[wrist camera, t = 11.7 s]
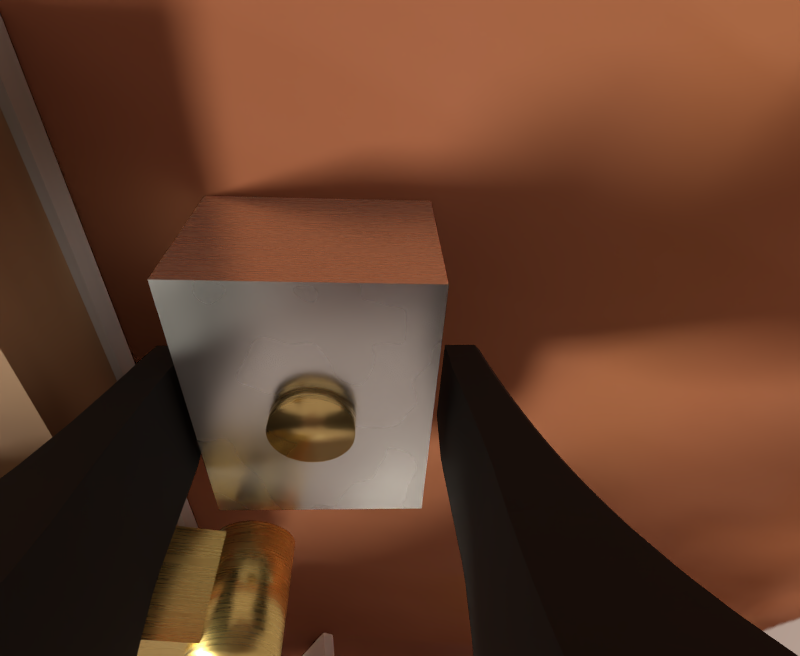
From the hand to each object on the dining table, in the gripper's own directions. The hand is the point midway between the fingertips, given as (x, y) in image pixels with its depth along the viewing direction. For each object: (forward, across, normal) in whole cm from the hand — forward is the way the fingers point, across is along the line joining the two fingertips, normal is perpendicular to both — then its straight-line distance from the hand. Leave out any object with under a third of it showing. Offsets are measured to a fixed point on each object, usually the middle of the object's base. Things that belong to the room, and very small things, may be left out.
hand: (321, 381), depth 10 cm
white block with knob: (+2, 0, 0) cm, 2 cm away
